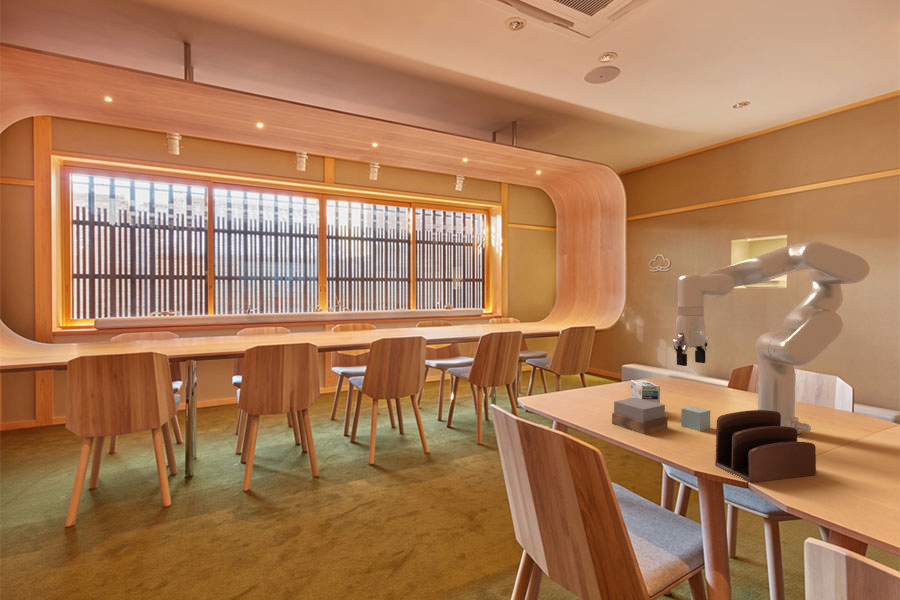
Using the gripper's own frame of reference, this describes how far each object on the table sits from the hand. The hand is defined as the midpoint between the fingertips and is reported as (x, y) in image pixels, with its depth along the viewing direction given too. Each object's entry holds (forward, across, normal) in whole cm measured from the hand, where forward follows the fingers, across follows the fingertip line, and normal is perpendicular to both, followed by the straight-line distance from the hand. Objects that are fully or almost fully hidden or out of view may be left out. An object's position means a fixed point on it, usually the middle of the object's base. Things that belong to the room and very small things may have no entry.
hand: (691, 364), depth 139 cm
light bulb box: (+21, -1, -19) cm, 28 cm away
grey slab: (+17, +15, -8) cm, 24 cm away
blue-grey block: (+21, 0, +1) cm, 21 cm away
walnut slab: (+21, +15, -8) cm, 27 cm away
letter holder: (+21, +17, +30) cm, 40 cm away
